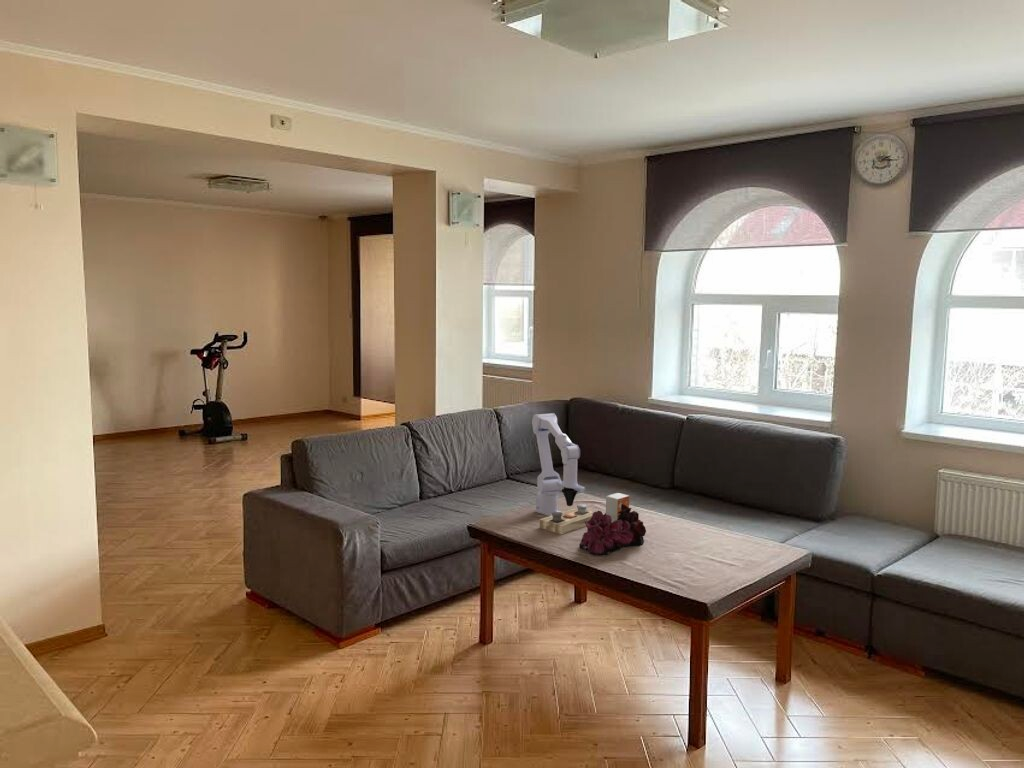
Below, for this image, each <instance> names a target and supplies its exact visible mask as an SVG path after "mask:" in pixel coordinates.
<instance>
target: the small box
mask: <svg viewBox="0 0 1024 768" xmlns="http://www.w3.org/2000/svg"><path fill="white" fill-rule="evenodd" d="M621 504H623V505H625V506H627V507H628V508H630V495H629V494H624V493H619V492H615V493H611V494H609V495H606V496H605V513H606V515H609V516H611V519H612V521H611V522H614V521H616V520H617V519H618V518H619V517H617V516H618V515H619V514H618V512H619V511H622V510H621Z"/></svg>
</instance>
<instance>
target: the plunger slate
mask: <svg viewBox="0 0 1024 768" xmlns="http://www.w3.org/2000/svg"><path fill="white" fill-rule="evenodd" d="M576 508H578V514H581V515H584V514H586V510H587V508H588V505H587V504H584V503H579V504H577V505H576Z"/></svg>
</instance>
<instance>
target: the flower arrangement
mask: <svg viewBox="0 0 1024 768" xmlns="http://www.w3.org/2000/svg"><path fill="white" fill-rule="evenodd" d="M621 510H622V511H619V512H618V514H619V515H618V516H617V517H619V518H618V519H617V520H616V521H614V522H611V521H612V519H611V516H609V515H606V512H605V513H603V512H602V511H601V510H597V511H593V512H594V513H593V514H592V518H591V519H590V520H589V521H585V524H586V526H585V527H586V528H587V529H586V532H583V535H582V537H581V541H580V542H579V546H578V547H579V549H581V550H582V549H584V548H585V551H587V552H588V554H590V555H593V556H597V557H606V556H608V555H609V553H614V552H616V551H620V550H621V549H622V548H632V547H641V546H643V545H644V543H645V540H644V537H645V535H646V533H647V529H646V527H645V525H644V522H643V521H641V519H640V516H639V515H640V514H639V512H637V511H635V510H633V511H631V510H632V507H629V508H628V507H627V506H625V505H623V504H621Z"/></svg>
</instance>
